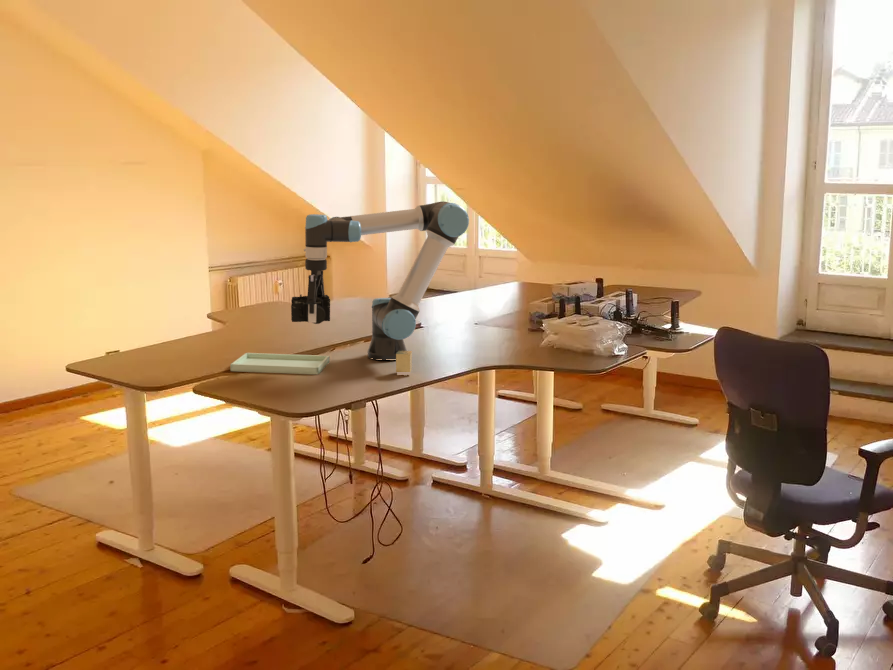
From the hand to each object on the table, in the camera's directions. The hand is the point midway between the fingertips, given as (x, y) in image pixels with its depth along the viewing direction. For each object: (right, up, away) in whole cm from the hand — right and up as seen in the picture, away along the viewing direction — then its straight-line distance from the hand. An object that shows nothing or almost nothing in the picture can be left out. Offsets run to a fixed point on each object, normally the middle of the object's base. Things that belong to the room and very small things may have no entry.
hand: (315, 319), depth 315 cm
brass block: (+32, -20, 0) cm, 37 cm away
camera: (-1, -1, 0) cm, 2 cm away
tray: (-14, -17, +8) cm, 23 cm away
